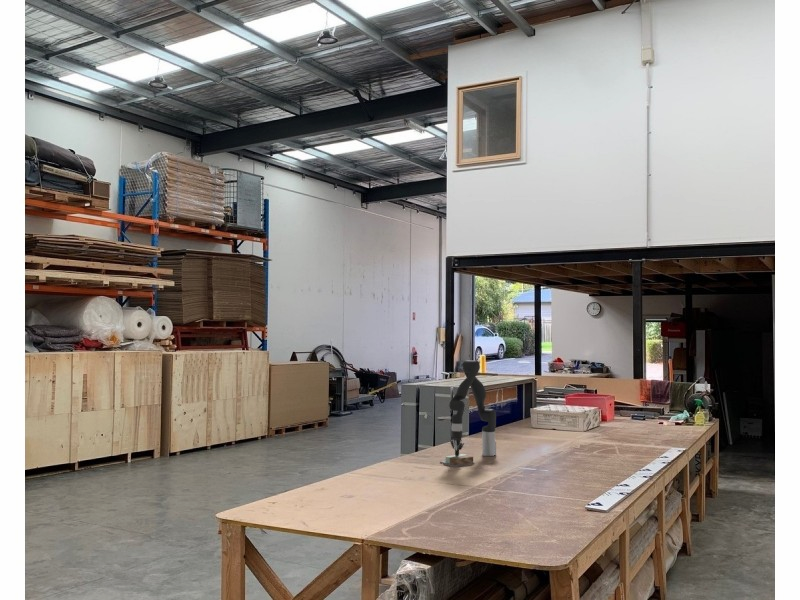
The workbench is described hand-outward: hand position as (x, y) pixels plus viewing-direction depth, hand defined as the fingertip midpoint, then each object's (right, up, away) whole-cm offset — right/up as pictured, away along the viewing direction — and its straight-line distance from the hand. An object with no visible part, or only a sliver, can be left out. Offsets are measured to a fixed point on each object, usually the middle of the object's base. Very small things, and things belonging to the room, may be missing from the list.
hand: (457, 455), depth 444 cm
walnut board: (+3, -4, -4) cm, 7 cm away
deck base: (0, -5, 0) cm, 5 cm away
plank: (0, -4, +1) cm, 4 cm away
